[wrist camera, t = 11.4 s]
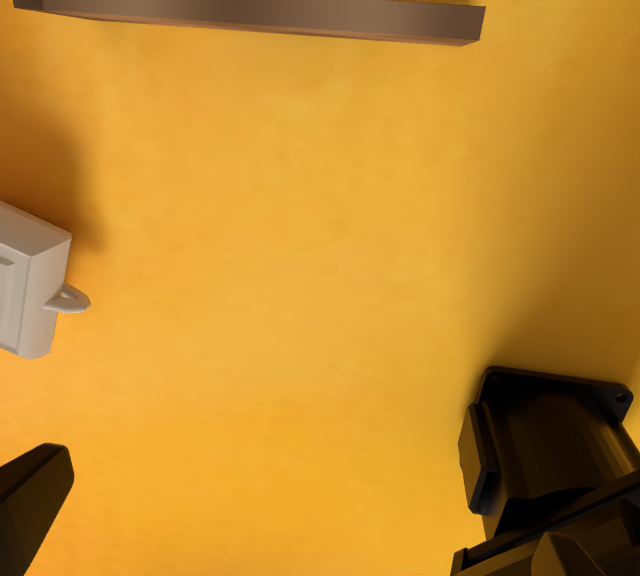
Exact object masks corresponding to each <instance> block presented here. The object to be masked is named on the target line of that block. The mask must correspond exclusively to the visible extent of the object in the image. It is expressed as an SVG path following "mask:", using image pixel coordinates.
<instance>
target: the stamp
mask: <svg viewBox="0 0 640 576" xmlns="http://www.w3.org/2000/svg"><path fill="white" fill-rule="evenodd" d="M72 236H73V234H72V233H70V232H68V231H66V230H64V229H62V228H59V227H57V226H55V225H53V224H51V223H49V222H46V221H44V220H42V219H40V218H38V217H36V216H33V215H31V214H29V213H27V212H25V211H23V210H20V209H18V208H16V207H14V206H12V205H10V204H7V203H5V202H3V201H1V200H0V348H2V349H4V350H7V351H9V352H11V353H13V354H16V355H18V356H20V357H22V358H25V359H35V358H41V357H42V356H44V355H46V354H48V353H50V350H51V345H52V340H53V337H54V331H55V326H56V320H57V315H58V311H59V312H63V313H83V312H84V311H85V310H86V309H87V308H88V307H89V306H90V305H91V302H90V300H89V298H88V296H87V295H85V294H84V293H83V292H81V291H80V290H78V289H77V288H75V287H73V286H72V285H70V284H69V283H67V282H66V281H64V280H65V274H66V269H67V263H68V258H69V252H70V247H71V242H72ZM62 295H63V296H65V297H67V298H64V297H61V296H62Z"/></svg>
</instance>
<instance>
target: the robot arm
mask: <svg viewBox="0 0 640 576" xmlns="http://www.w3.org/2000/svg"><path fill="white" fill-rule="evenodd" d="M493 376H499V378H497V379H491V377H493ZM619 394H623V395H622V396H620V397H616V396H617V395H619ZM633 397H634V396H633V394H632V392H631V391H630V389H629V388H628V387H627V386H626V385H623V384H618V383H611V382H604V381H597V380H590V379H583V378H576V377H569V376H562V375H555V374H548V373H541V372H534V371H527V370H520V369H513V368H506V367H499V366H492V367H489V368H487V369H486V370H485V371H484V373H483V377H482V380H481V384H480V387H479V391H478V394H477V398H476V402H475V403H472V404H471V405H469V406H468V408H467V411H466V415H465V419H464V422H463V426H462V429H461V433H460V437H459V440H458V447H459V454H460V467H461V468H462V472H463V479H464V485H465V491H466V497H467V503H468V508H469V509H470V510H471V512H472V513H473V514H479V515H482V520H483V526H484V531H485V536H486V541H485V542H483V543H480V544H478V545H476V546H474V547H472V548H470V549H468V548H463V549H461V550H459V551H457V552H455V553H454V557H453V563H452V568H451V574H450V576H640V452H639V450H638V449H637V447H636V446H635V444H634V442H633V441H632V439H631V438H630V436H629V434H628V433H627V431H626V430H625V428H624V427H623V425H622V422H623V420H624V418H625V416H626V413H627V411H628V409H629V407H630V405H631V403H632V401H633ZM73 482H74V470H73V466H72V462H71V458H70V454H69V450H68V448H67V447H66V446H64V445H60V444H54V443H44V444H41V445H39V446H37V447H35V448H33V449H32V450H30V451H28V452H26V453H24V454H23V455H21V456H19V457H17V458H15V459H13V460H12V461H10V462H8V463H6V464H4V465H2V466H1V467H0V576H24V574H25V572H26V571H27V569H28V568H29V566H30V564H31V562H32V561H33V559H34V557H35V555H36V554H37V552H38V550H39V548H40V546H41V544H42V542H43V540H44V539H45V537H46V535H47V533H48V531H49V529H50V527H51V525H52V524H53V522H54V520H55V518H56V516H57V514H58V512H59V510H60V509H61V507H62V505H63V503H64V501H65V499H66V497H67V495H68V494H69V492H70V490H71V488H72V485H73Z"/></svg>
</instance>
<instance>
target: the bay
mask: <svg viewBox="0 0 640 576" xmlns="http://www.w3.org/2000/svg"><path fill="white" fill-rule="evenodd" d="M13 4H14V8H19V9H25V10H32V11H38V12H44V13H51V14H57V15H64V16H70V17H76V18H83V19H89V20H100V21H114V22H128V23H142V24H156V25H170V26H184V27H198V28H211V29H225V30H239V31H253V32H267V33H281V34H295V35H309V36H323V37H337V38H351V39H365V40H379V41H393V42H407V43H421V44H434V45H448V46H464V45H467V44H470V43H473V42H476V41H479V39H480V34H481V29H482V24H483V19H484V13H485V8H486V6H470V5H454V4H438V3H422V2H406V1H390V0H13Z"/></svg>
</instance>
